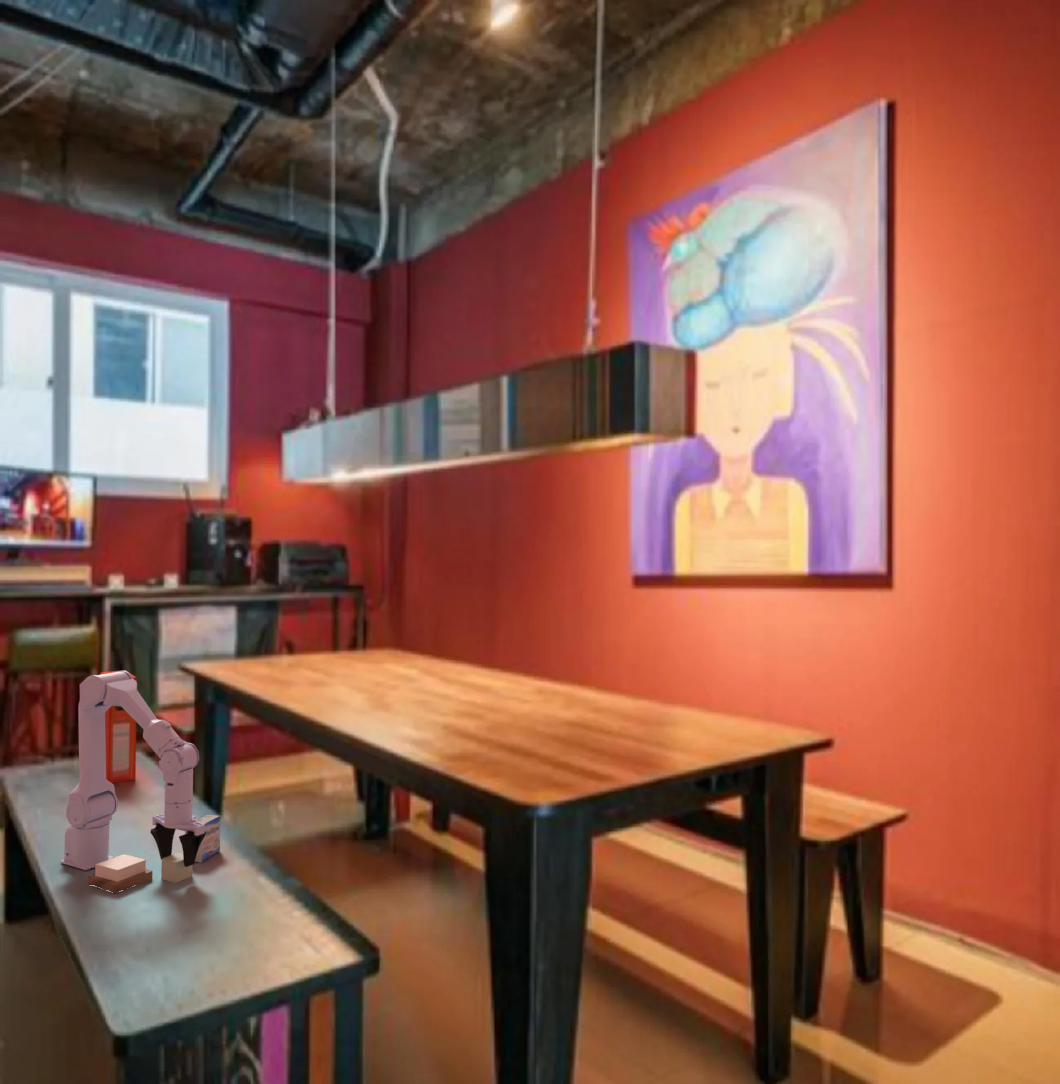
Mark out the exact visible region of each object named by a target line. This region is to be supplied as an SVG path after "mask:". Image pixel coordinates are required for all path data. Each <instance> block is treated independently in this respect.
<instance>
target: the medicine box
mask: <svg viewBox="0 0 1060 1084" xmlns="http://www.w3.org/2000/svg"><path fill="white" fill-rule="evenodd" d="M221 818H222V817H221V815H215V814H205V815H202V816H200V817H198V818H197V819H195V820H196V821H198V822H199V823H201V824H204V825H205V832H206V835H205V837H204V839H203V840H202V842H201V844H200V846H199V849H198V852H197V855H196V859H195V862H194V863H203V862H205V861H206V859H207V860H208V859H210V858H211V857H213V856H215V855H216V854H218V853H219V852H220V851H221ZM184 834H187V832H186V831H184ZM217 852H218V853H217ZM212 855H213V856H212ZM209 857H210V858H209ZM204 860H205V861H204Z"/></svg>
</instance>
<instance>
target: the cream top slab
mask: <svg viewBox="0 0 1060 1084" xmlns="http://www.w3.org/2000/svg"><path fill="white" fill-rule="evenodd" d="M114 857H115V858H112V859H109V860H106V861H103V862H101V863H98V864H96V866H95V867H94V869H95V873H94V874H95V876H97V877H101V878H105V879H108V880H112V881H116V882H119V881H121V880H124V879H126V878H129V877H132V876H134V875H137V874H139V873H142V872H145V871H146V867H147V864H146V863H147V859H144V858H140V857H136V856H132V855H129V854H124V853H123V854H120V855H118V856H114Z"/></svg>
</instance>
